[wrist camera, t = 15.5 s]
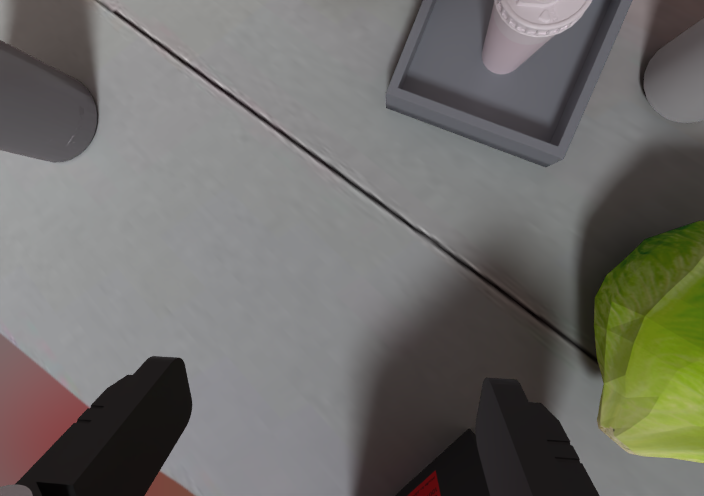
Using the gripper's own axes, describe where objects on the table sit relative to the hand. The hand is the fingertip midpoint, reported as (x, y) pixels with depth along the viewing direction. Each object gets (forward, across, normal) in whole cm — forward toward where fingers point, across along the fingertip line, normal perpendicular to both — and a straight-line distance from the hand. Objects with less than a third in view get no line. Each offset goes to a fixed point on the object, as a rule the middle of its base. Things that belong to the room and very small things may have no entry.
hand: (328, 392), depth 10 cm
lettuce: (+23, -26, +12) cm, 37 cm away
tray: (+32, -12, -11) cm, 36 cm away
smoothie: (+31, -12, -11) cm, 35 cm away
